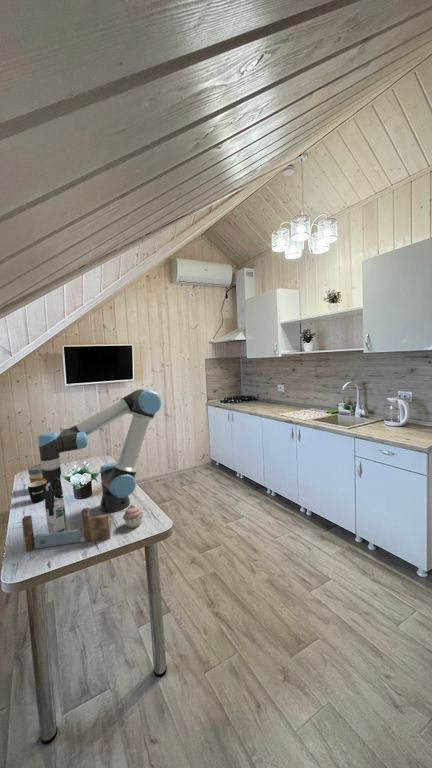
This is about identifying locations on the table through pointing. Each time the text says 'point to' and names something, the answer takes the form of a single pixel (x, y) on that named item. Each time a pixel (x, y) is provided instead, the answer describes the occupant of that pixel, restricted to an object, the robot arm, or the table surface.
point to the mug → (37, 491)
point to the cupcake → (133, 516)
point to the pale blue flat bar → (57, 538)
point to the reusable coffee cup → (36, 473)
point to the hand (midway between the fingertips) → (56, 517)
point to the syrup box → (57, 517)
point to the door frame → (92, 528)
